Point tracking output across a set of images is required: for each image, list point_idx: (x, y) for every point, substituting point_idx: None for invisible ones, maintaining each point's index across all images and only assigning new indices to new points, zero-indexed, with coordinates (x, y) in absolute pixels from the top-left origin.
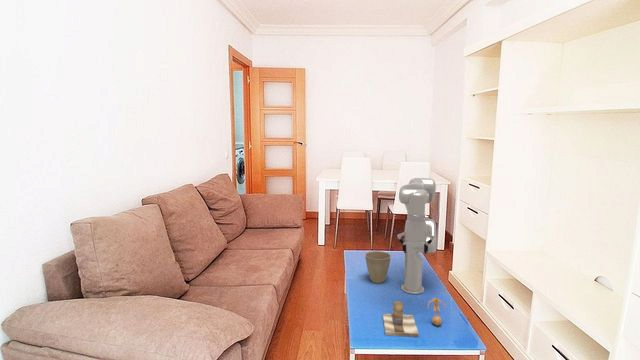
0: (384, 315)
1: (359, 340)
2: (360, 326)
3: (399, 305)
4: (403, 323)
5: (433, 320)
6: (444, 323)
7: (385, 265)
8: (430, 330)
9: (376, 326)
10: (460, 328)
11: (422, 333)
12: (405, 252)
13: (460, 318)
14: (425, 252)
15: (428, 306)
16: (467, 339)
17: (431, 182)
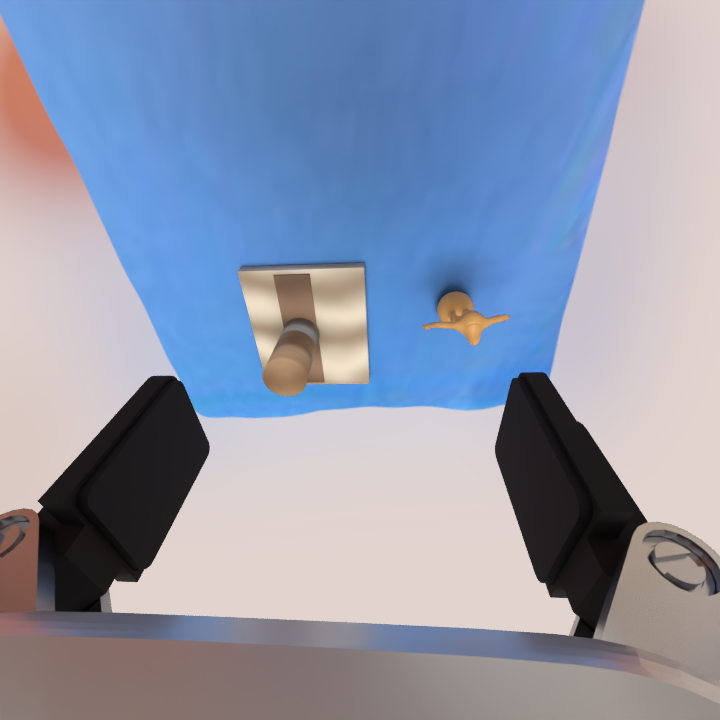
0: (246, 285)
1: (203, 404)
2: (181, 341)
3: (290, 392)
4: (323, 333)
5: (439, 318)
6: (488, 287)
7: None
8: (417, 339)
9: (233, 335)
10: (536, 315)
11: (386, 358)
12: (200, 459)
13: (582, 236)
14: (506, 467)
15: (427, 327)
16: None
17: None
